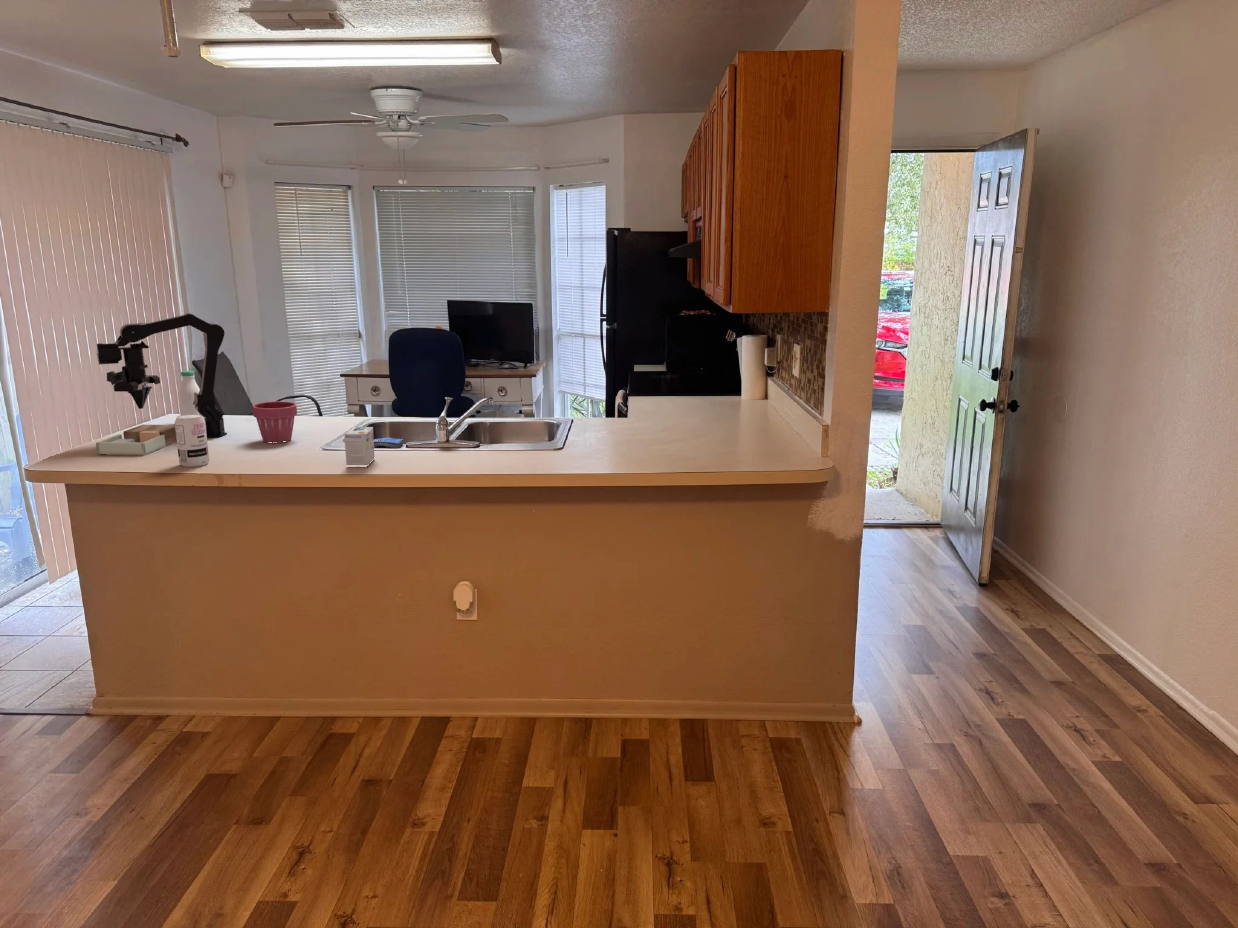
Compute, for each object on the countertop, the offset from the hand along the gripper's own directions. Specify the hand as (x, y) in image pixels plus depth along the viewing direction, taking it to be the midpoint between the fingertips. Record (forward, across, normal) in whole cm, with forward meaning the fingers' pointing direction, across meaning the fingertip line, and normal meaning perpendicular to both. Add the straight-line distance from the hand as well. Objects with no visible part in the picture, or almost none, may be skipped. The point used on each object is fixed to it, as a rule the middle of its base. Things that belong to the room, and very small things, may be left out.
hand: (140, 408), depth 284 cm
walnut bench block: (+12, 0, +3) cm, 12 cm away
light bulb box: (+13, +28, +80) cm, 86 cm away
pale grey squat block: (+8, +13, 0) cm, 15 cm away
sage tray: (+12, +12, +2) cm, 17 cm away
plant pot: (+12, -4, +43) cm, 45 cm away
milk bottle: (+12, -34, 0) cm, 36 cm away
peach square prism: (+9, +7, +6) cm, 13 cm away
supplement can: (+12, +30, +30) cm, 45 cm away
